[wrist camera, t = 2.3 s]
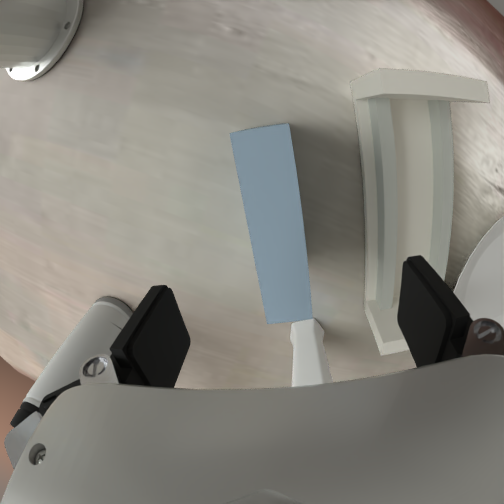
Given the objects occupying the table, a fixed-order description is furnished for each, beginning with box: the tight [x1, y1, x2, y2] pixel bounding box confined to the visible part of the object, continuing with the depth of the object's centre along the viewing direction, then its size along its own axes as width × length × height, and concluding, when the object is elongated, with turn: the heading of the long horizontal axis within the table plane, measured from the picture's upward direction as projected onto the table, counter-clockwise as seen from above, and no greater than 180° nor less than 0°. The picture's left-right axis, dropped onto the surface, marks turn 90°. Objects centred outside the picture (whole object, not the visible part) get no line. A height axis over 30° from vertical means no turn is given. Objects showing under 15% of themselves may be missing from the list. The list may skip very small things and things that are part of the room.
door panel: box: [230, 123, 313, 324], centre depth 20 cm, size 12×3×9 cm, turn 10°
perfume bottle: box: [290, 318, 333, 387], centre depth 23 cm, size 5×4×15 cm
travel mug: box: [10, 297, 133, 428], centre depth 22 cm, size 6×7×20 cm
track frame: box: [350, 68, 490, 356], centre depth 20 cm, size 22×9×7 cm, turn 10°
